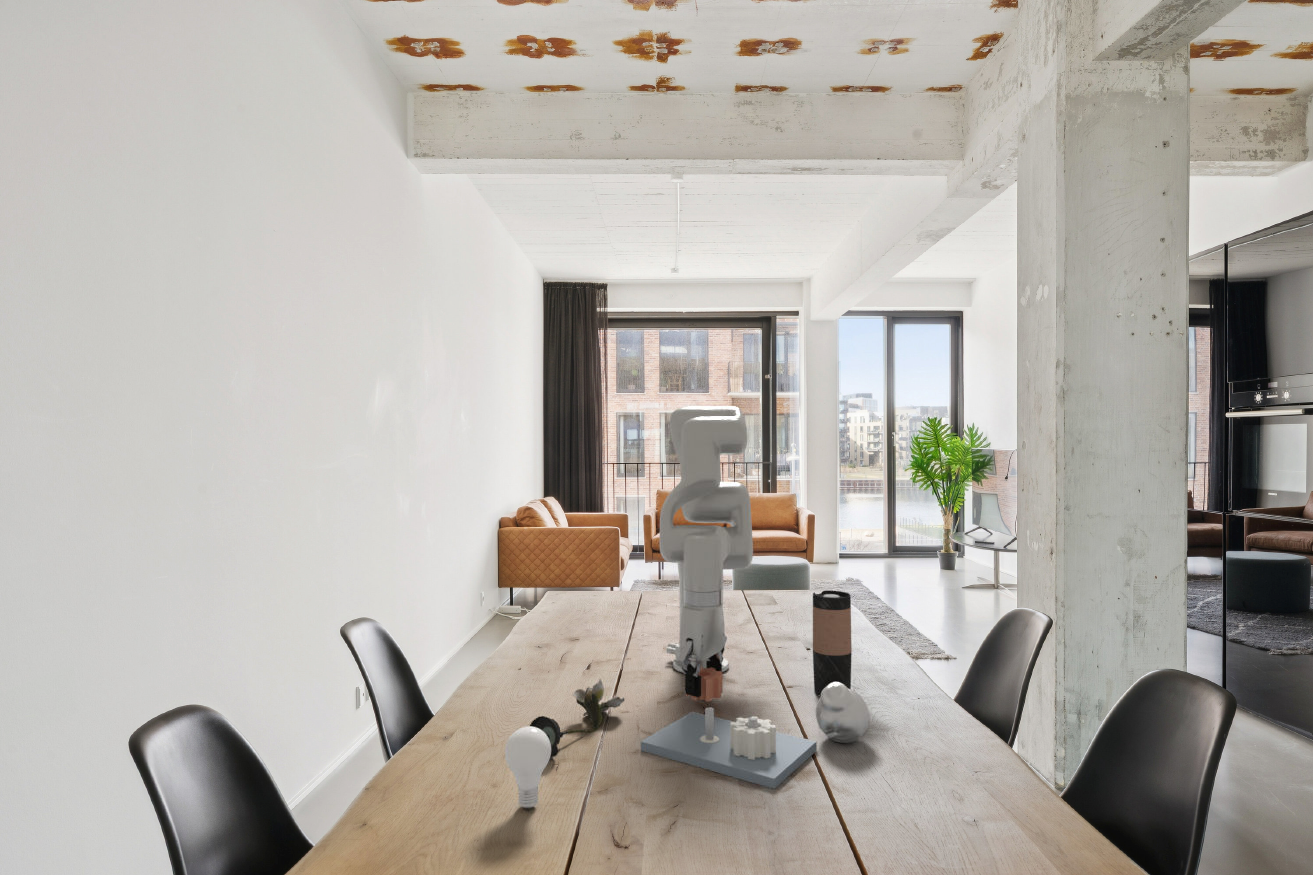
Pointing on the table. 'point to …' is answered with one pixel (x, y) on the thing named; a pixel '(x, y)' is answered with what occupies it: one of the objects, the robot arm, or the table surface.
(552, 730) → the artificial flower
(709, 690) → the terracotta gear
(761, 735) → the cream gear
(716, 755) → the gear board
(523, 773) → the lightbulb
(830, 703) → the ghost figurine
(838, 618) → the travel mug
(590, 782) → the table surface
